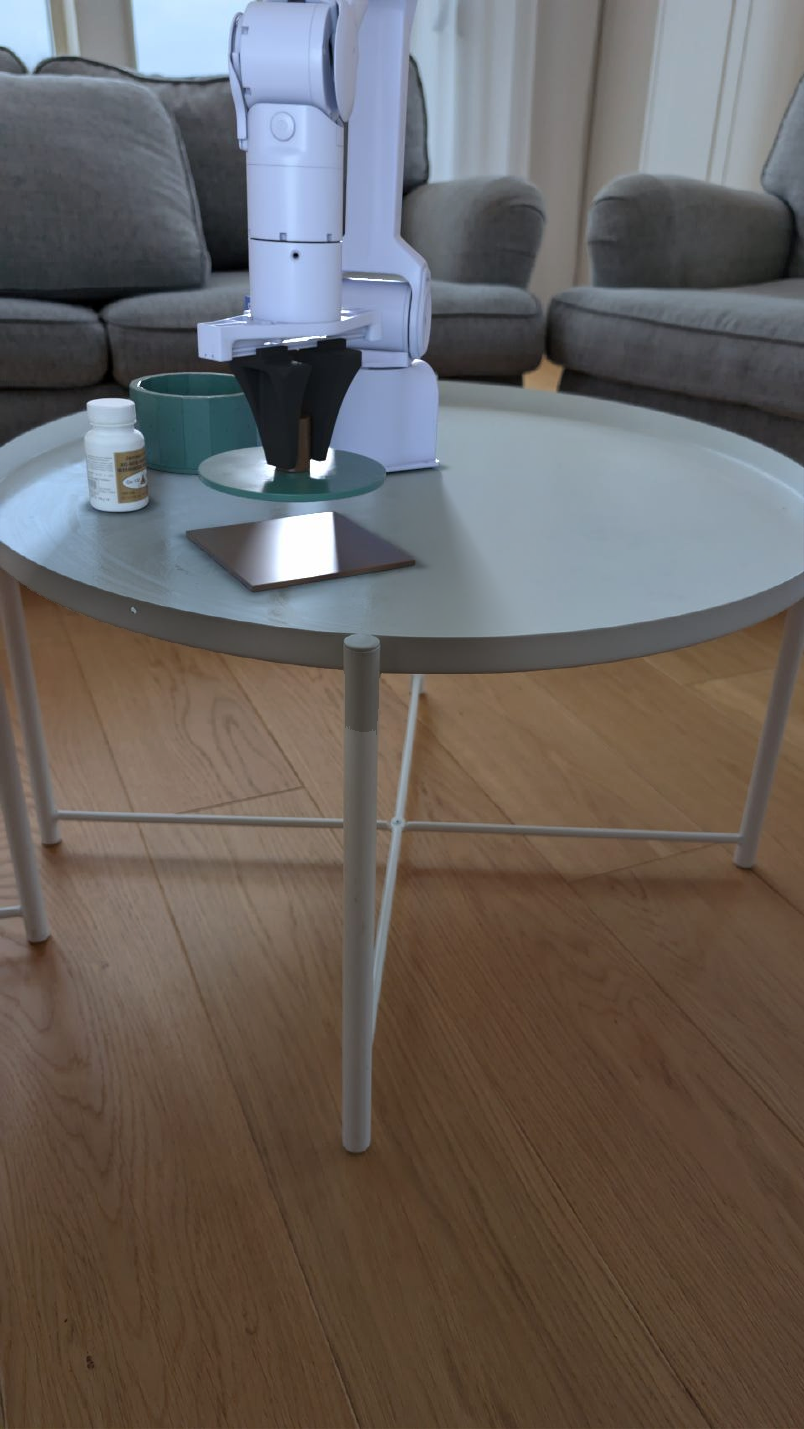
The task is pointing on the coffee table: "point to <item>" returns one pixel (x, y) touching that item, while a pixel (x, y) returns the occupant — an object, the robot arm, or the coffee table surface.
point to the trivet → (297, 550)
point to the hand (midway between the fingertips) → (297, 462)
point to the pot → (191, 418)
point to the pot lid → (292, 473)
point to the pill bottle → (115, 457)
